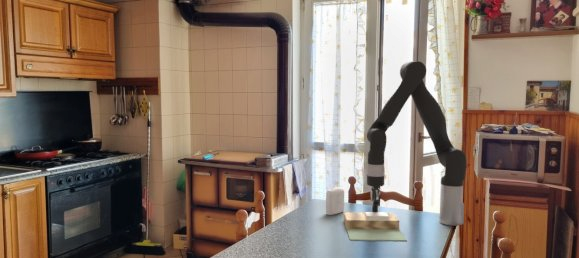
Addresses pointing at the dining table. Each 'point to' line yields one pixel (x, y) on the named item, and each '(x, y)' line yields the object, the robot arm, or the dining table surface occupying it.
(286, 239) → the dining table surface
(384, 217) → the cream tile
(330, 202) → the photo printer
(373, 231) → the sage mat
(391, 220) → the board
